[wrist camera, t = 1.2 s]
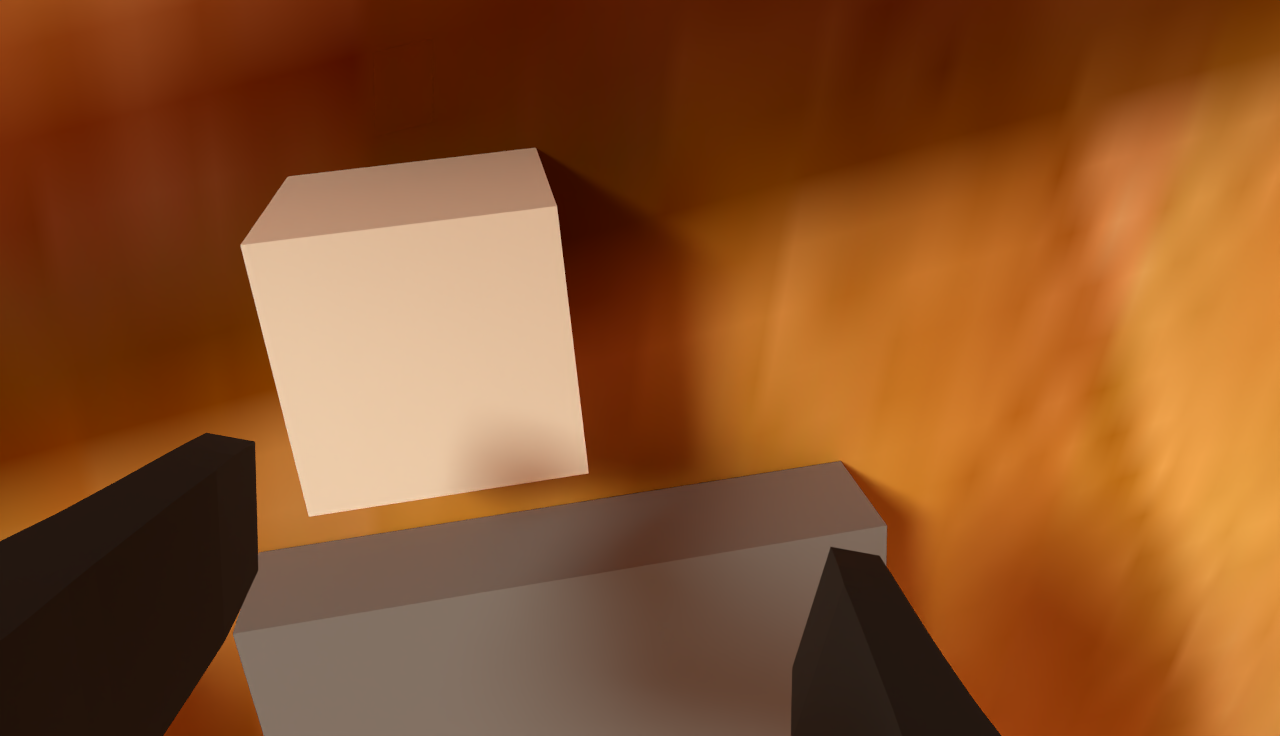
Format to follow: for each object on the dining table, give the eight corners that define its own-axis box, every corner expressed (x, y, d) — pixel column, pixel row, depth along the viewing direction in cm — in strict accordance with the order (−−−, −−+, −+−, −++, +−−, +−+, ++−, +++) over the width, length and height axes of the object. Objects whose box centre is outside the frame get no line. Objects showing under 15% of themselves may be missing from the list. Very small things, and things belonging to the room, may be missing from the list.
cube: (338, 398, 23) (308, 516, 18) (288, 175, 21) (240, 244, 16) (562, 367, 23) (589, 473, 19) (535, 146, 21) (556, 206, 17)
